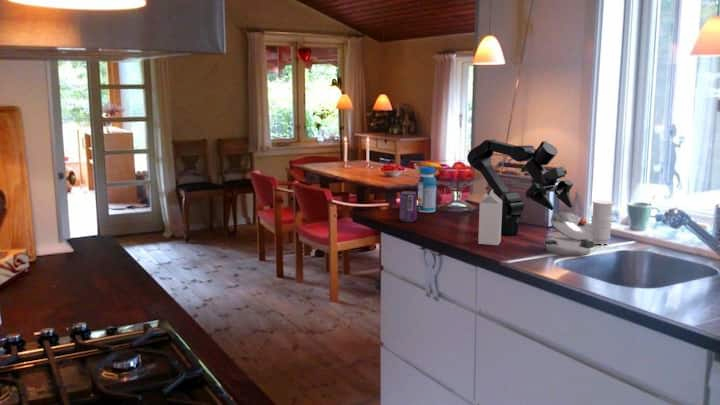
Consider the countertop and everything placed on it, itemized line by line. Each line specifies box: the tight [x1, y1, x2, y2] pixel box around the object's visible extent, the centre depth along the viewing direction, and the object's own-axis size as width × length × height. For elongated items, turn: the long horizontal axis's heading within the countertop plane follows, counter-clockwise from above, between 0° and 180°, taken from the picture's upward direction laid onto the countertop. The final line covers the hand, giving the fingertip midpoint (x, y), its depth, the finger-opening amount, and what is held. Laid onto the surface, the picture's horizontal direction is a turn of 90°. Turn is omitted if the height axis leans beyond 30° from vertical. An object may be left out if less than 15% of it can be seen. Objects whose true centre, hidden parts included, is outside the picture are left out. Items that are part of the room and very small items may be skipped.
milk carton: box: [477, 188, 502, 246], centre depth 229 cm, size 7×7×19 cm
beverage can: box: [399, 190, 418, 223], centre depth 268 cm, size 7×7×12 cm
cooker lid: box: [550, 211, 593, 241], centre depth 217 cm, size 14×14×2 cm
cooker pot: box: [544, 231, 595, 257], centre depth 218 cm, size 16×20×5 cm
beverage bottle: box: [417, 165, 438, 213], centre depth 289 cm, size 8×8×20 cm
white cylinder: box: [590, 199, 614, 245], centre depth 229 cm, size 7×7×15 cm
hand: (562, 208), depth 221 cm, fingers open, 9 cm apart
